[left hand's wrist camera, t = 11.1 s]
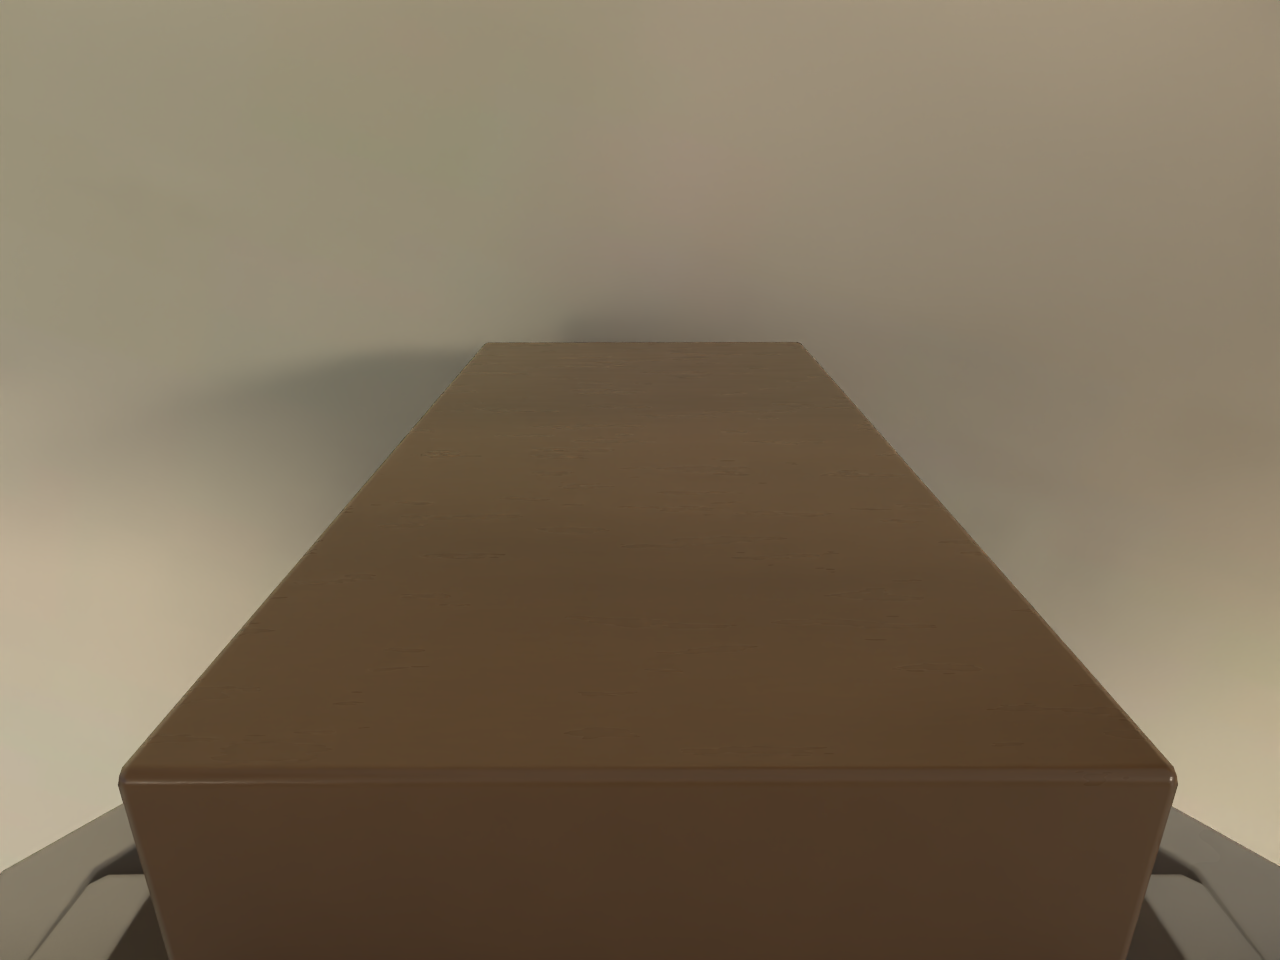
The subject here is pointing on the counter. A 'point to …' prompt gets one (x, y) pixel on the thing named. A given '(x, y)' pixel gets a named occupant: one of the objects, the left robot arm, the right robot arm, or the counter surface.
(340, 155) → the counter surface
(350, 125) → the counter surface
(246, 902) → the box
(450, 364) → the counter surface
